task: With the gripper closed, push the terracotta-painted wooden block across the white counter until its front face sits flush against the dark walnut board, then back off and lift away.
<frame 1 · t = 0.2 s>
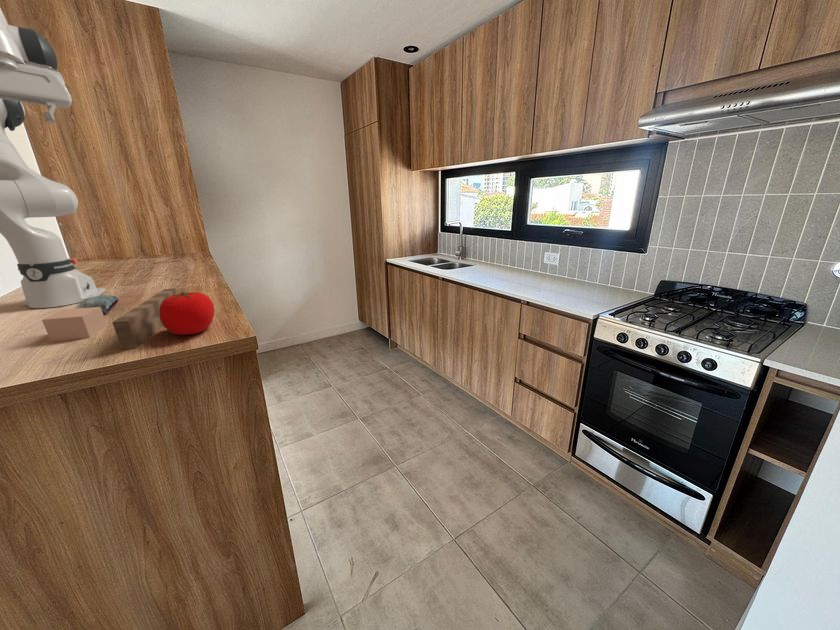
hand: (22, 118, 76), 51 cm above the counter, fingers open, 8 cm apart
walnut board: (155, 326, 92), on the counter
terracotta block: (80, 334, 87), on the counter
packaged food: (98, 313, 104), on the counter
tomato: (192, 331, 89), on the counter
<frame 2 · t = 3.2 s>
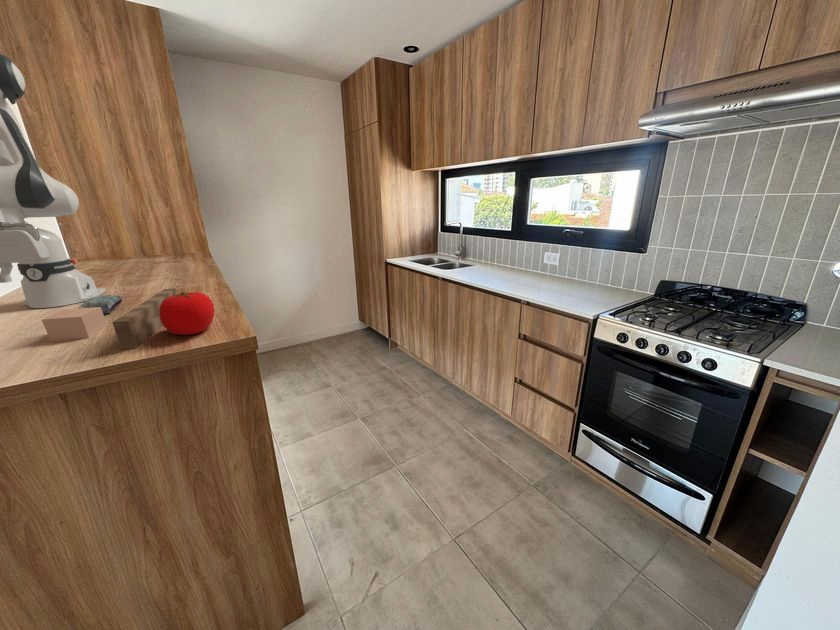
hand: (1, 282, 79), 15 cm above the counter, fingers closed
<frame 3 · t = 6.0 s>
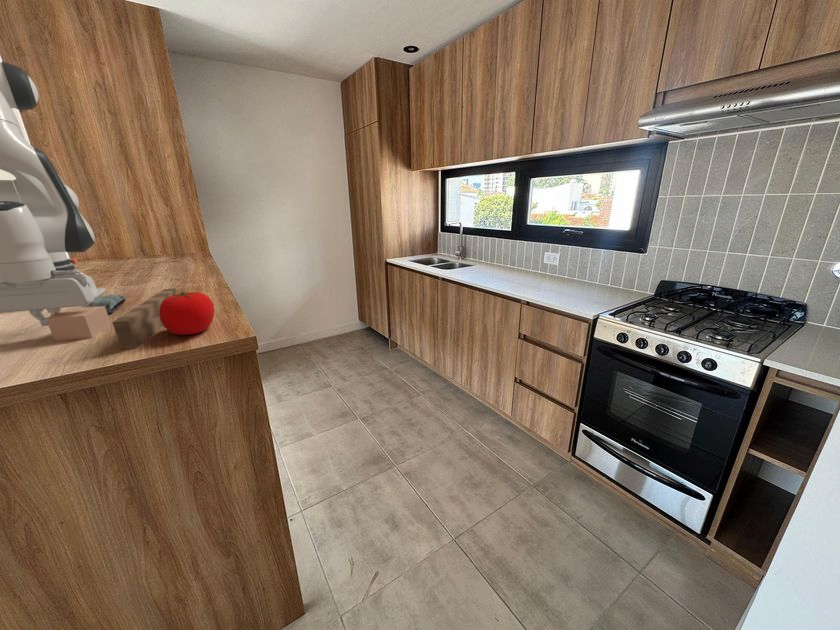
hand: (51, 324, 85), 3 cm above the counter, fingers closed
terracotta block: (84, 333, 87), on the counter, touching gripper
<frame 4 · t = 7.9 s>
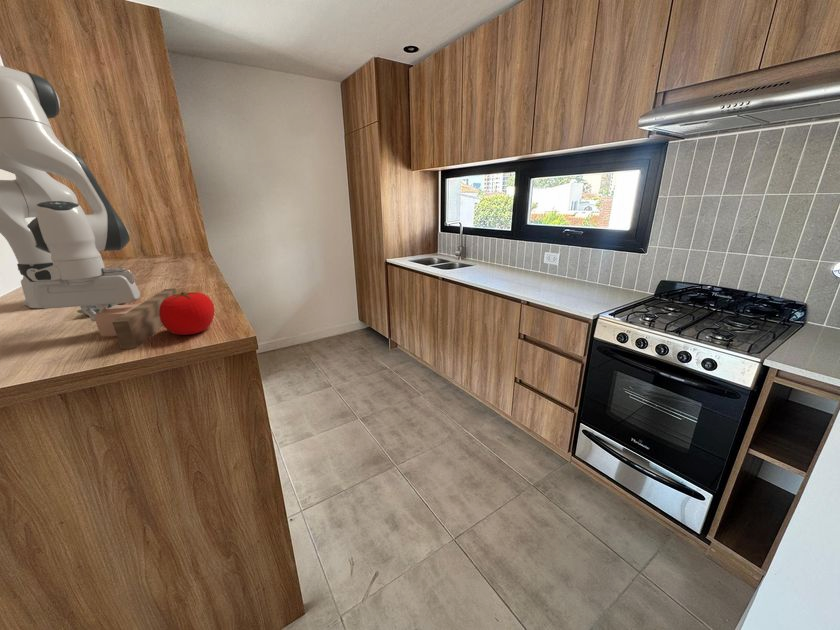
hand: (99, 320, 87), 3 cm above the counter, fingers closed
terracotta block: (128, 329, 90), on the counter, touching gripper, walnut board
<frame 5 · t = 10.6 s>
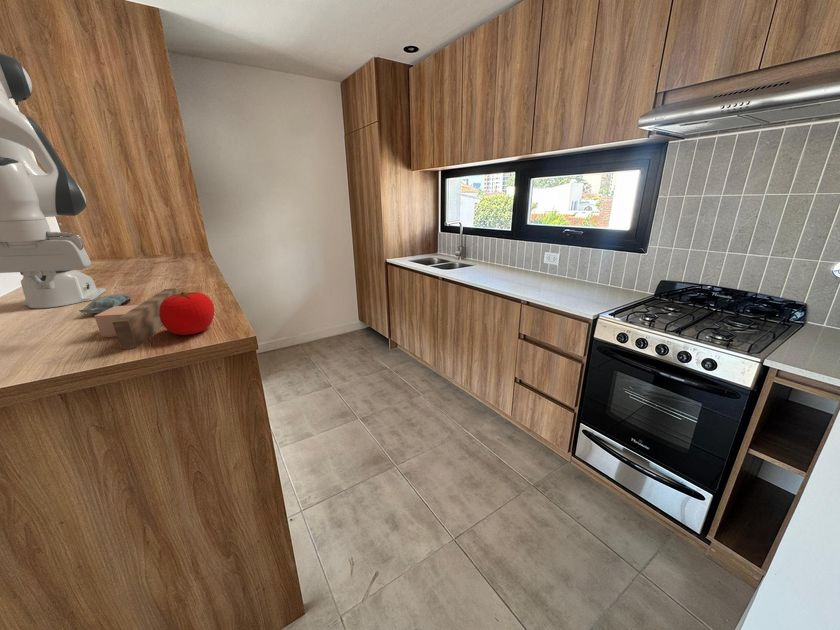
hand: (45, 288, 82), 13 cm above the counter, fingers closed
terracotta block: (129, 330, 90), on the counter
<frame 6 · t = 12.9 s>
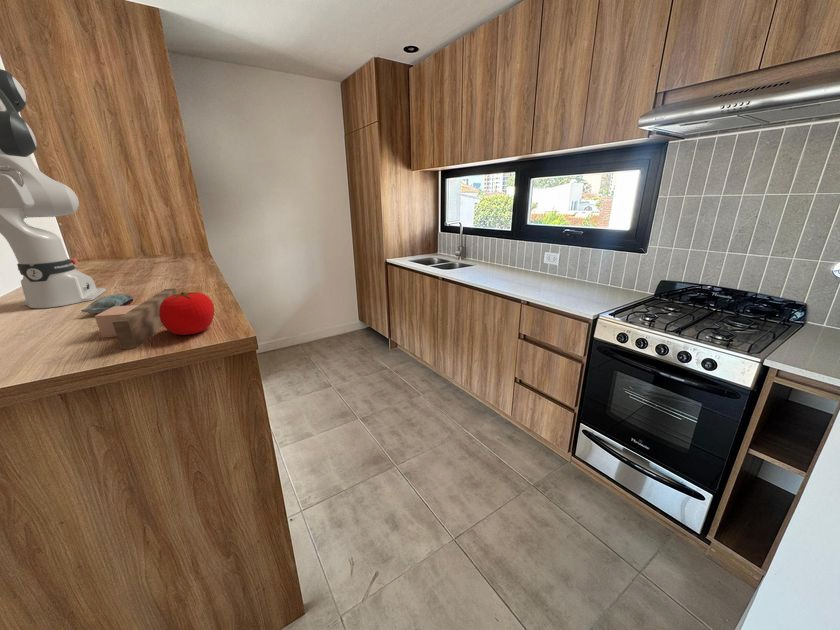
at the end: terracotta block 0.9 cm from the target spot on the counter beside the walnut board, on the counter; terracotta block tilted 0° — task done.
